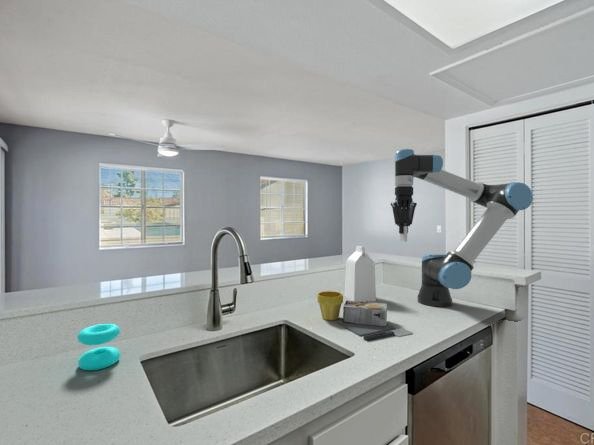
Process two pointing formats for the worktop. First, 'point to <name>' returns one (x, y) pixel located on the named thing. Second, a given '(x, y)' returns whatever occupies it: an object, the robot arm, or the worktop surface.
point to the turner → (388, 334)
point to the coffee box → (365, 313)
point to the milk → (360, 277)
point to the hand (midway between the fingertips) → (403, 241)
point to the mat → (365, 328)
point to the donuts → (100, 355)
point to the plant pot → (330, 304)
